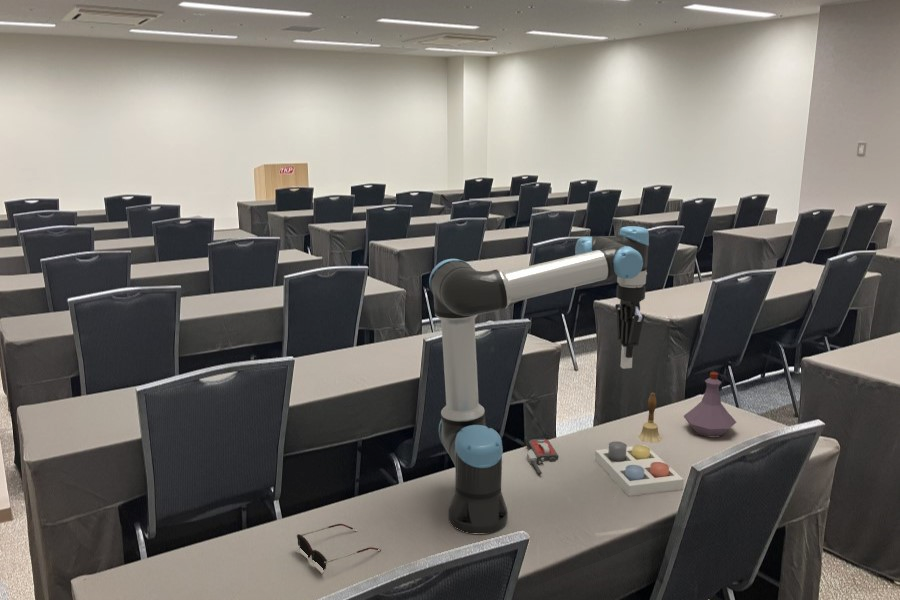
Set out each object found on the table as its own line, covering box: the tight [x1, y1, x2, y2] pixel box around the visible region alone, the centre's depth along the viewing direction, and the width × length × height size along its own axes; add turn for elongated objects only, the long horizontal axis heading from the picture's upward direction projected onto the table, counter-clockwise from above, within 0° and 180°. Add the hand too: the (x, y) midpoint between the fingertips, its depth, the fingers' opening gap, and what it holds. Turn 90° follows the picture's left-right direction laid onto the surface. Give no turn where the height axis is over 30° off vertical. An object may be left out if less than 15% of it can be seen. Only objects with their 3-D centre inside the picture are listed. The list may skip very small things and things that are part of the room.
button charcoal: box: [608, 441, 628, 462], centre depth 218 cm, size 5×5×4 cm
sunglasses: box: [296, 523, 379, 571], centre depth 179 cm, size 14×16×5 cm
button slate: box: [625, 465, 644, 481], centre depth 208 cm, size 5×5×4 cm
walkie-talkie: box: [526, 438, 559, 475], centre depth 225 cm, size 9×4×20 cm
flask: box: [683, 371, 737, 437], centre depth 243 cm, size 16×16×20 cm
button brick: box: [650, 462, 670, 478], centre depth 210 cm, size 5×5×4 cm
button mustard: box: [632, 444, 651, 460], centre depth 221 cm, size 5×5×4 cm
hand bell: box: [637, 392, 662, 444], centre depth 237 cm, size 8×8×16 cm
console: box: [594, 444, 684, 497], centre depth 215 cm, size 16×22×4 cm
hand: (626, 367), depth 209 cm, fingers closed
